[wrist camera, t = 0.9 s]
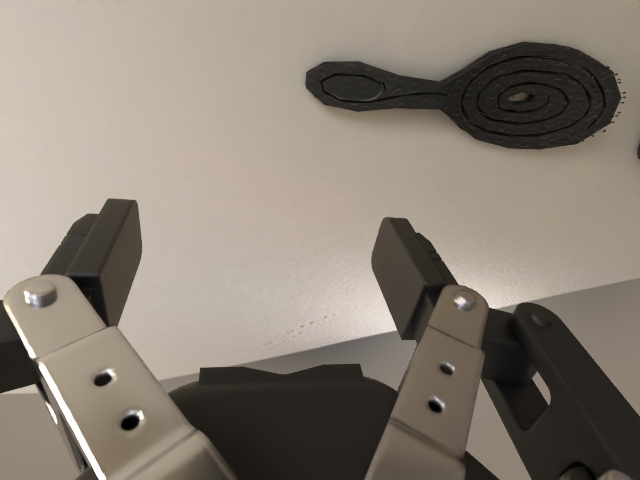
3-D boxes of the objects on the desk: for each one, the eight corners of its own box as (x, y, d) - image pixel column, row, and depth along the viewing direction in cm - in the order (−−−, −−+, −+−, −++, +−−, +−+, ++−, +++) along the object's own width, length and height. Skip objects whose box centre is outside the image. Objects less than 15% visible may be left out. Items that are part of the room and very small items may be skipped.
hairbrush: (314, 20, 24) (655, 59, 28) (309, 14, 27) (618, 51, 31) (303, 146, 29) (597, 165, 33) (300, 129, 32) (569, 149, 36)
